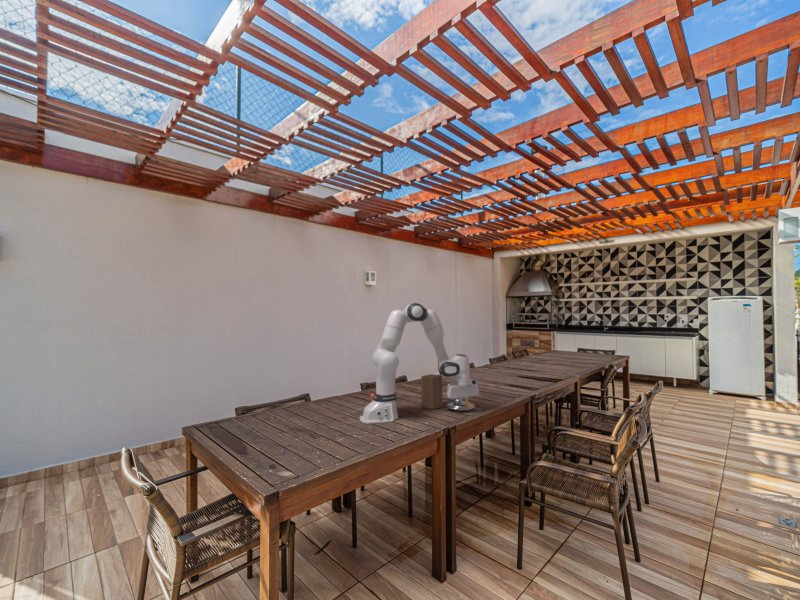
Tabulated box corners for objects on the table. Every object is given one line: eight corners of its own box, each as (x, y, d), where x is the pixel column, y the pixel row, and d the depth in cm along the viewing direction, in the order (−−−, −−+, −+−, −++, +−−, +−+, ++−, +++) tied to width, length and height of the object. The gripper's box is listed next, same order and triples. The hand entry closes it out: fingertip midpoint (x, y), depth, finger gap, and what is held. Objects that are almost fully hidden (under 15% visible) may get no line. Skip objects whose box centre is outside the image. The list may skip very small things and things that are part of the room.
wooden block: (432, 410, 223) (431, 377, 223) (421, 407, 230) (420, 375, 231) (443, 407, 229) (442, 375, 230) (431, 404, 237) (431, 373, 237)
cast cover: (457, 406, 218) (456, 398, 218) (450, 403, 226) (450, 396, 226) (468, 405, 221) (468, 397, 221) (461, 402, 228) (461, 394, 229)
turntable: (455, 413, 212) (455, 403, 213) (442, 407, 228) (442, 397, 229) (480, 410, 219) (480, 400, 219) (465, 403, 234) (465, 394, 235)
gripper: (449, 384, 210) (450, 408, 209) (479, 380, 217) (480, 403, 216) (444, 382, 215) (445, 405, 215) (474, 378, 223) (475, 401, 222)
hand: (463, 404), depth 216 cm, fingers closed
